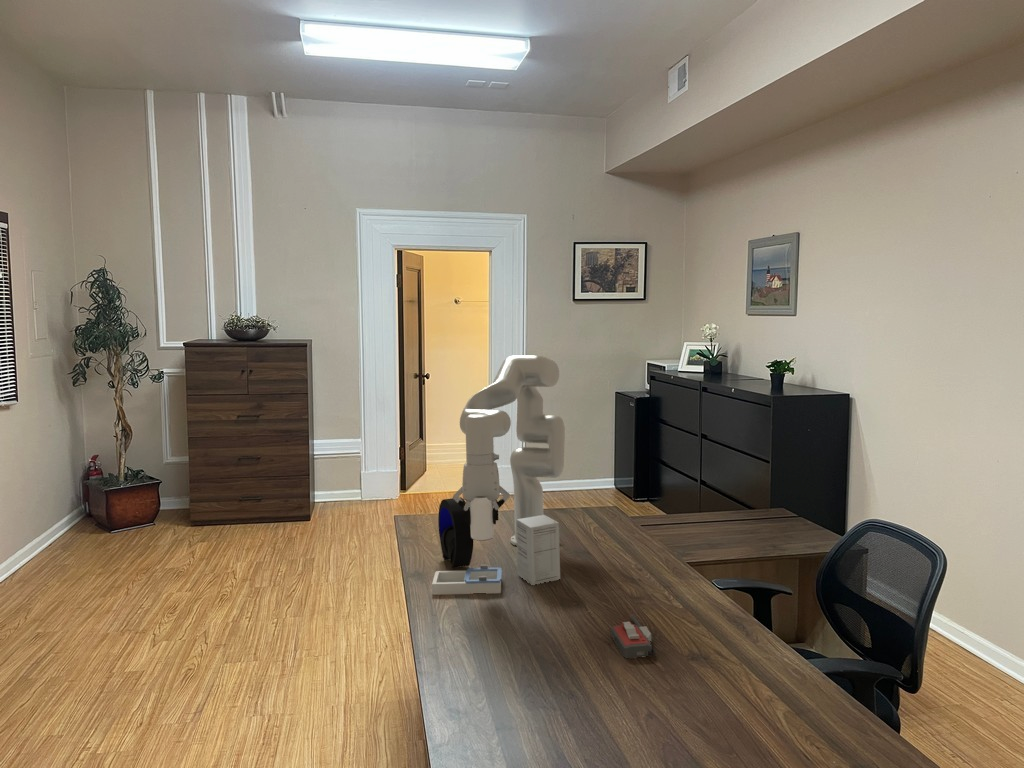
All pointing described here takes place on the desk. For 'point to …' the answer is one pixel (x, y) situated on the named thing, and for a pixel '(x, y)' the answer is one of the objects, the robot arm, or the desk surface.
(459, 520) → the headphones
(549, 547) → the supplement box
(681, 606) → the desk surface
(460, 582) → the block
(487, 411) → the robot arm
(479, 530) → the can
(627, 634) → the walkie-talkie
